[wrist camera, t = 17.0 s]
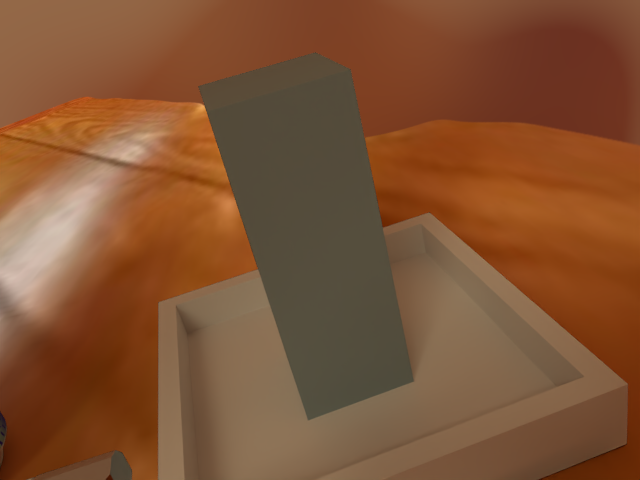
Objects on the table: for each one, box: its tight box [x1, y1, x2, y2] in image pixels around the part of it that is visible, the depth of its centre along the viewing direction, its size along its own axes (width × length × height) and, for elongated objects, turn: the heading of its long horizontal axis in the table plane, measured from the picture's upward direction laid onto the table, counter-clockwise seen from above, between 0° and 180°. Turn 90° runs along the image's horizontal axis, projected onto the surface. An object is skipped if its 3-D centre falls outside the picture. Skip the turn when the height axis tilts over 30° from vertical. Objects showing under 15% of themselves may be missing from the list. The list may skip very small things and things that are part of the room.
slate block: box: [199, 53, 414, 420], centre depth 25 cm, size 5×5×14 cm
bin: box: [158, 212, 628, 480], centre depth 28 cm, size 17×17×3 cm
